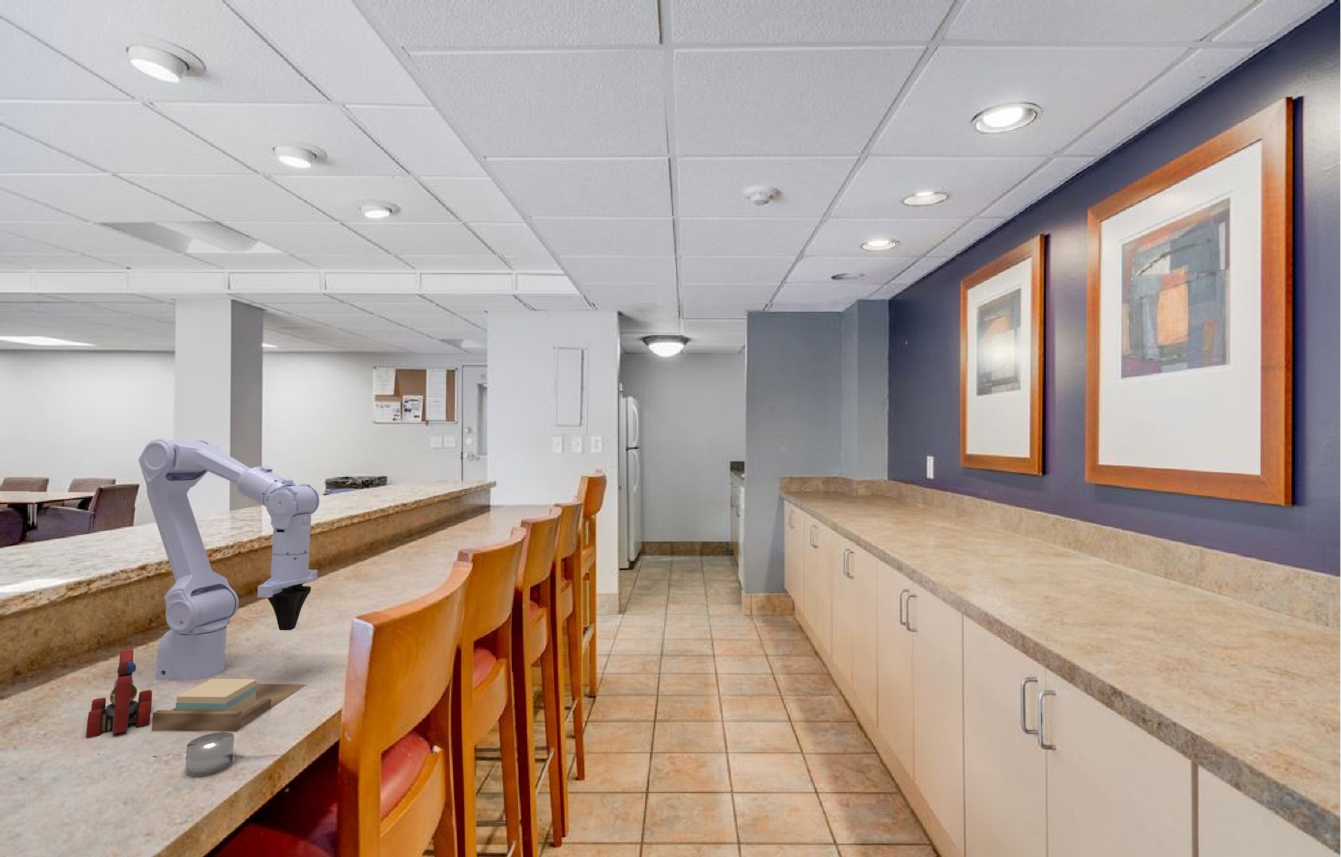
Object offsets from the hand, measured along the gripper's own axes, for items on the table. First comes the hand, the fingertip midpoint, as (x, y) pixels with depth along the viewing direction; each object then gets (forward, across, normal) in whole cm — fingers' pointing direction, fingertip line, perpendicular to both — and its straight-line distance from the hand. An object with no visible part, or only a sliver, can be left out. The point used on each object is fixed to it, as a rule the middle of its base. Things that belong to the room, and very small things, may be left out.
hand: (287, 629), depth 108 cm
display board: (+10, -11, +1) cm, 15 cm away
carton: (+9, -16, +1) cm, 18 cm away
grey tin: (+10, -28, -7) cm, 31 cm away
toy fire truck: (+10, -17, +14) cm, 24 cm away
